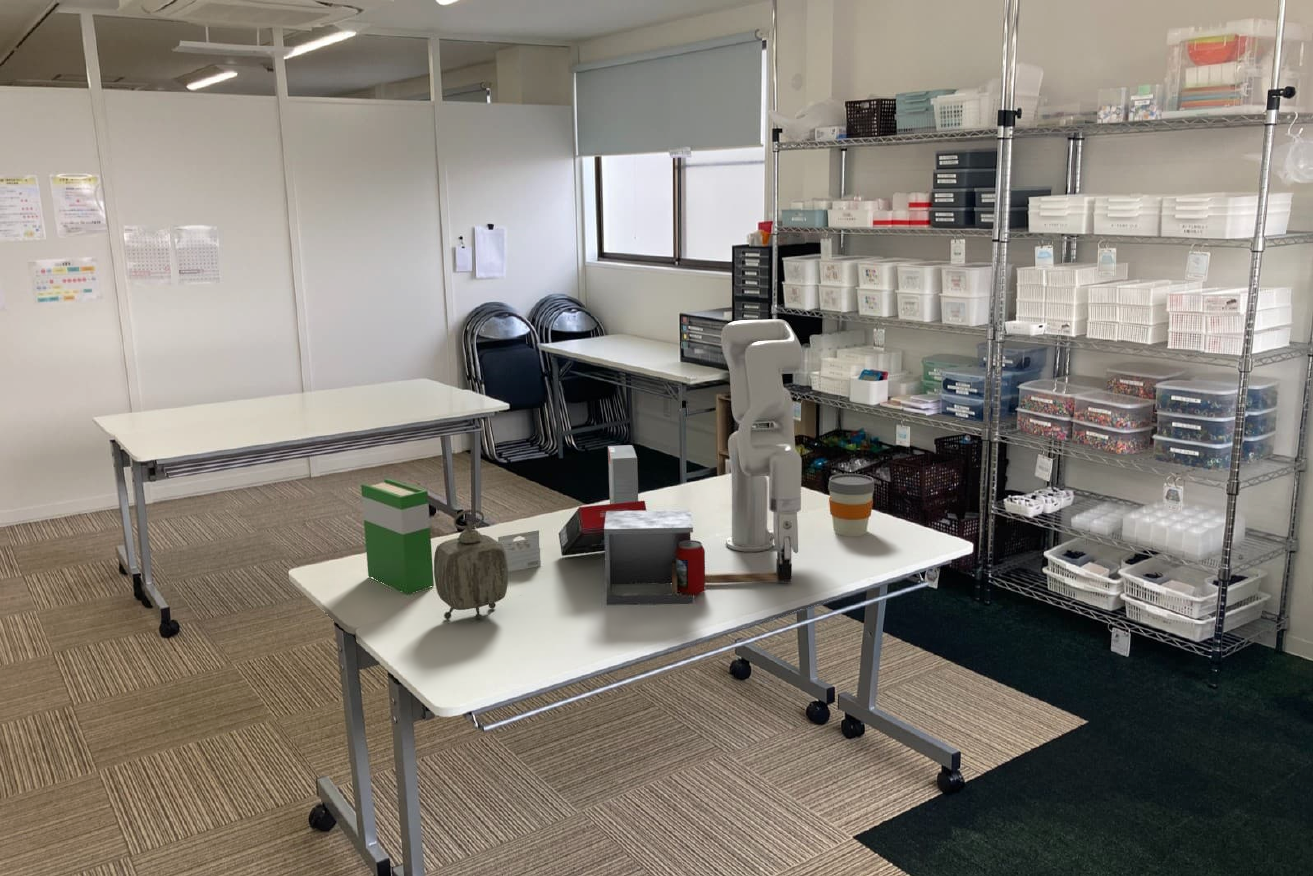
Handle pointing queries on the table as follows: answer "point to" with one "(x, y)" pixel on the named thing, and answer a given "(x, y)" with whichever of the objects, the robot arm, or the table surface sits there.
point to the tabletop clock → (470, 570)
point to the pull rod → (733, 577)
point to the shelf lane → (644, 552)
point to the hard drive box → (622, 474)
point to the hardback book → (398, 535)
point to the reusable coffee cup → (850, 503)
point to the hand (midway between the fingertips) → (783, 576)
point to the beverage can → (690, 567)
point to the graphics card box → (590, 527)
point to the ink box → (521, 550)
